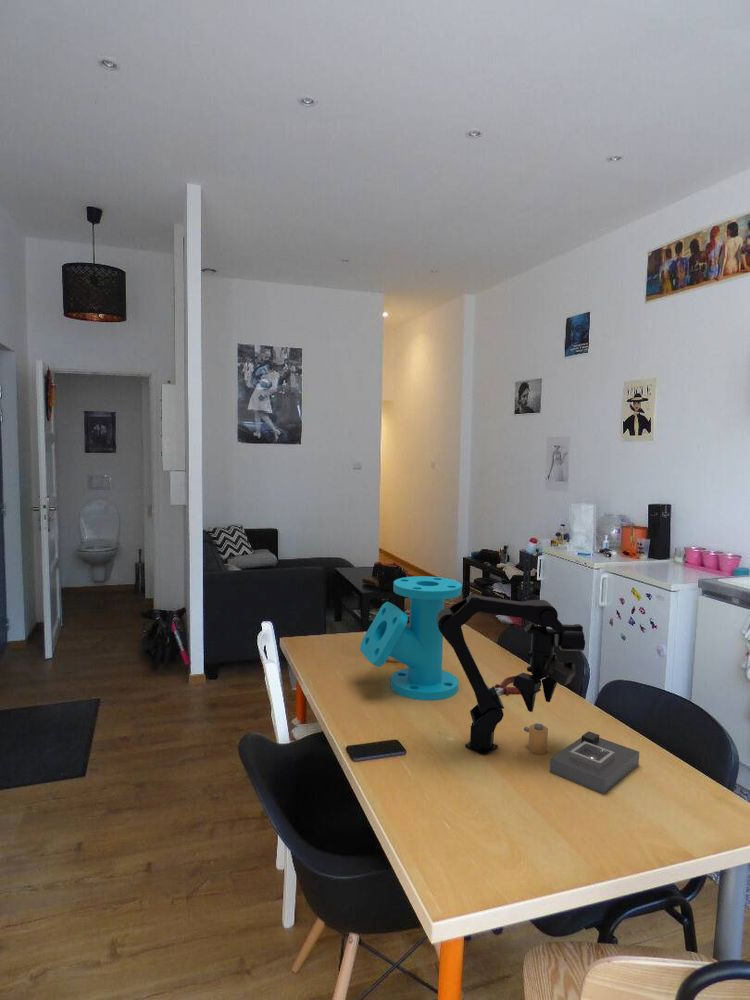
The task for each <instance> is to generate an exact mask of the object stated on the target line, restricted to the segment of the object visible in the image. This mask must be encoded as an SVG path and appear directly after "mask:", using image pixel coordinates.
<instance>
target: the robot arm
mask: <svg viewBox="0 0 750 1000" xmlns="http://www.w3.org/2000/svg"><path fill="white" fill-rule="evenodd" d="M477 613H484V614H490V615H498V616H504V617H511V618H517V619H521V620H525V621H527V622H530V623H529V624H527V625H526V626H524V631H525V632H526V633H527V634H531V644H530V646H531V647H530V651H528V652H527V657H529V658H530V663H529V664H530V665H529V666H527V668H526V672H522V673H519V674H517V675H514V676H515V677H514V678H513V683H512V687H516V688H517V689H518V690H519V691H520V693H521V694H520V695H521V697H522V700H523V701H524V704H525V706H526V709H527V711H528V712H530V713H533V711H534V707H535V702H536V696H537V694H538V693H540V692H541V690H542V689H543V696H544V699H545V702H547V703H550V702H551V701H552V698H553V696H554V695H553V694H554V692H555V690H556V687H557V685H558V684H559V686H562V687H564V686H566V685H568V684H570V683H571V682H572V679H573V678H574V677H575V676H576V675H577V673H576V672H577V671H576V670H577V669H576V663H575V662H573V661H572V660H569V661H567V662H564V661H562V662H561V661H560V660H558V654H557V653H555V652H554V651H555V650H554V648H555V647H558V648H559V650H560V651H571V652H572V651H573V652H583V651H584V650H585V647H586V640H585V635H584V634H585V633H584V626H583V625H581V624H580V623H579V624H578V623H577V624H576V623H575V624H563V623H561V621H560V620H559V619H558V617H559V614H558V611H557V610H556V608H555V607H554V606H553V604H551V603H550V602H549V601H548V600H544V599H531V600H525V601H518V600H512V599H511V600H510V599H504V598H499V597H498V598H497V597H491V596H484V595H478V594H477V593H471V594H469V595H468V596H467V597H464V599H462V600H460V601H458V602H455V603H454V604H453V605H451V606H450V607H448V608H445V607H444V609H442V610H441V611H440V612H439V613H438V614H437V617H436V620H437V624H438V628H439V631H440V632H441V634H442V635H443V639H445V641H447V643H448V645H450V647H452V649H453V651H454V653H455V654H456V657H457V660H458V661H459V664H460V665H461V667H462V669H463V672H464V673H465V676H466V678H467V679H468V682H469V684H470V686H471V688H472V690H473V692H474V693H473V694H474V695H475V696H474V697H475V699H476V703H477V704H476V705H475V706H474V707H472V709H470V710H469V714H470V717H471V721H472V723H471V725H470V737H469V738H470V739H469V742H467V743H466V744H465V746H464V747H465V748H467V749H470V750H471V751H474V752H476V753H478V754H481V755H483V756H486V755H488V754H489V753H491V752H493V751H494V750H496V749H498V748H499V745H498V744H496V743H494V740H495V736H494V735H495V731H496V728H497V726H498V724H499V723H500V722H501V721H502V720H503V718H504V716H505V715H504V711H503V710H504V709H505V706H504V704H503V701H502V700H501V697H500V696H498V694H497V692H496V689H495V685H493V686H491V687H489V686H488V685H487V683H486V682H485V680H484V677H483V676H482V673H481V670H479V667H478V665H477V664H476V663H477V662H476V661H475V659H474V657H473V654H472V652H471V651H470V649H469V646H468V645H467V641H466V640H465V637H464V632H463V629H462V626H464V625H465V624H467V623H468V621H469V620H471V618H473V616H475V615H476V614H477ZM527 672H528V673H527ZM529 673H531V674H529ZM541 687H542V689H541Z"/></svg>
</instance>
